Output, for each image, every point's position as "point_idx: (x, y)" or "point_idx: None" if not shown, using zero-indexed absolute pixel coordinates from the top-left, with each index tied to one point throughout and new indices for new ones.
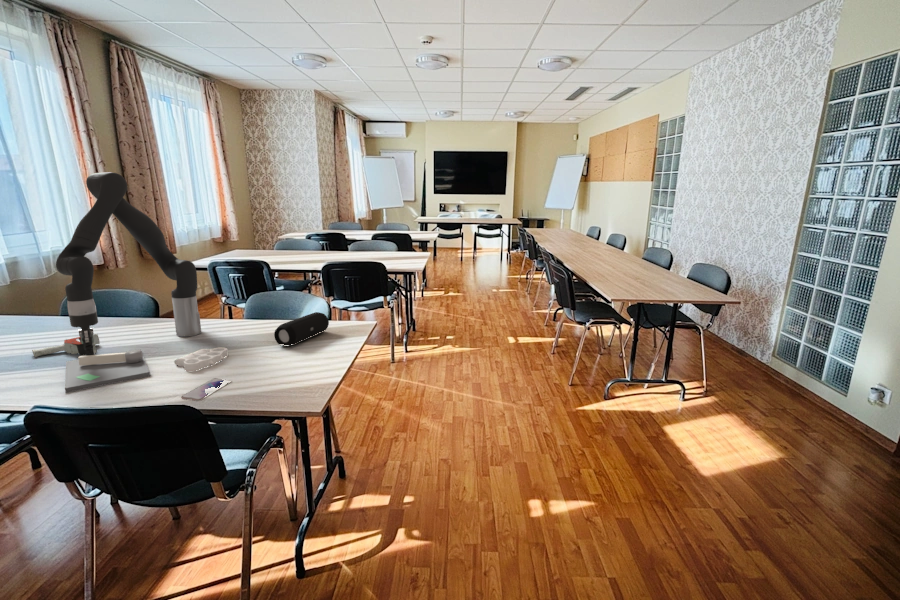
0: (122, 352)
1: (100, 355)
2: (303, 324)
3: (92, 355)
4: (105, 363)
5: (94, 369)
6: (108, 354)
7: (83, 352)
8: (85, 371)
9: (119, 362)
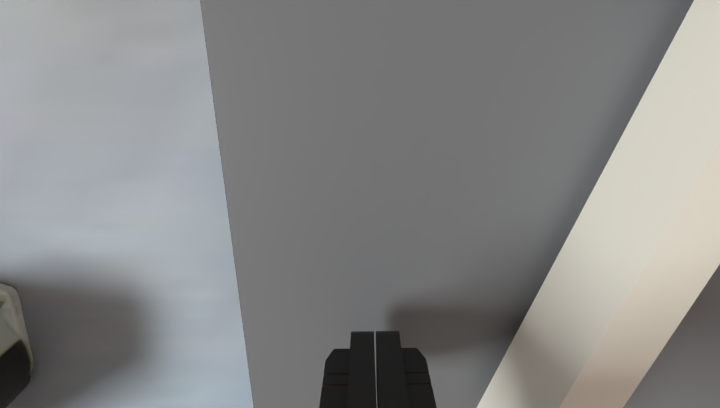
0: (224, 36)
1: (671, 317)
2: None
3: (589, 395)
4: (565, 223)
5: (694, 312)
6: (705, 226)
7: (13, 383)
8: (689, 373)
9: (646, 88)
